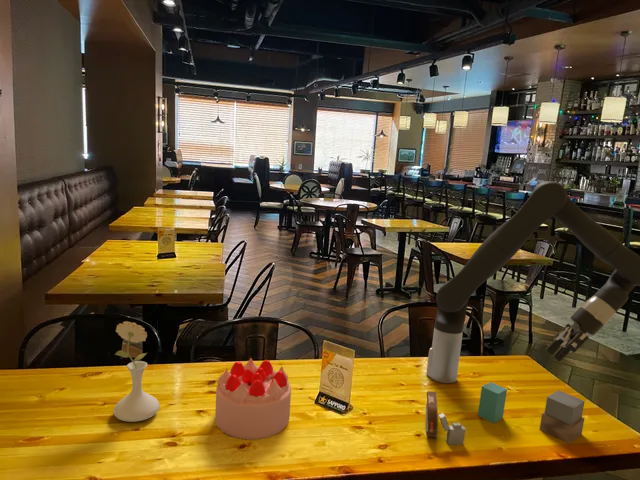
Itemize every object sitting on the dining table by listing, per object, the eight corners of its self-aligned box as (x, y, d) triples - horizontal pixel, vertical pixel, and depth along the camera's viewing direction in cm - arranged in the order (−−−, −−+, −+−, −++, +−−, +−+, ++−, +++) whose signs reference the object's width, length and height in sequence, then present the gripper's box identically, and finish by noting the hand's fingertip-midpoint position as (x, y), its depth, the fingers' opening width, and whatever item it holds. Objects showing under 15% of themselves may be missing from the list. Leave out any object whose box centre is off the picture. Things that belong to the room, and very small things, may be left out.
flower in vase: (168, 410, 125) (170, 322, 121) (136, 431, 115) (136, 335, 110) (133, 397, 130) (133, 312, 126) (98, 416, 120) (97, 324, 116)
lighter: (460, 440, 121) (464, 412, 119) (463, 444, 119) (467, 416, 117) (434, 440, 120) (438, 412, 118) (437, 445, 118) (440, 416, 116)
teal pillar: (477, 415, 134) (481, 386, 132) (487, 410, 137) (491, 382, 135) (493, 423, 130) (498, 393, 128) (502, 418, 133) (507, 389, 132)
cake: (217, 444, 112) (219, 390, 109) (213, 402, 131) (214, 354, 128) (296, 436, 117) (299, 384, 115) (281, 397, 136) (284, 351, 134)
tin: (436, 444, 118) (440, 414, 117) (424, 441, 119) (427, 411, 117) (434, 414, 133) (438, 386, 131) (423, 412, 133) (426, 384, 132)
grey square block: (544, 413, 128) (547, 396, 127) (555, 406, 132) (558, 390, 131) (570, 425, 122) (573, 408, 122) (581, 417, 127) (584, 401, 126)
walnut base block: (539, 430, 128) (542, 413, 128) (552, 421, 134) (554, 405, 133) (569, 444, 122) (572, 427, 122) (581, 434, 128) (584, 418, 127)
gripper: (574, 303, 140) (536, 341, 142) (590, 309, 126) (547, 351, 129) (595, 320, 139) (556, 359, 141) (613, 328, 125) (569, 371, 127)
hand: (552, 355), depth 135 cm, fingers open, 8 cm apart
